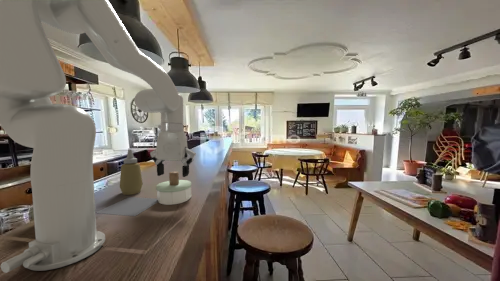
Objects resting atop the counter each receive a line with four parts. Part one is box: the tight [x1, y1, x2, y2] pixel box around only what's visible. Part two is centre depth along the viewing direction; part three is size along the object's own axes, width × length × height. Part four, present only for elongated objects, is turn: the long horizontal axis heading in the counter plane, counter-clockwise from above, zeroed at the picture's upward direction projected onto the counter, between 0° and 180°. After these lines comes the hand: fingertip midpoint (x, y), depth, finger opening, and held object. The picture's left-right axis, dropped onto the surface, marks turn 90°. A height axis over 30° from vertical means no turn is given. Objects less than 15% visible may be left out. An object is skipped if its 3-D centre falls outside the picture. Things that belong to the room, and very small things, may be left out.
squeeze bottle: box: [119, 149, 144, 196], centre depth 79 cm, size 8×8×18 cm
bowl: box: [156, 186, 192, 206], centre depth 72 cm, size 11×11×5 cm
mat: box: [95, 196, 159, 217], centre depth 66 cm, size 14×14×1 cm
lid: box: [155, 171, 192, 192], centre depth 72 cm, size 12×12×5 cm
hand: (173, 175), depth 71 cm, fingers open, 9 cm apart
